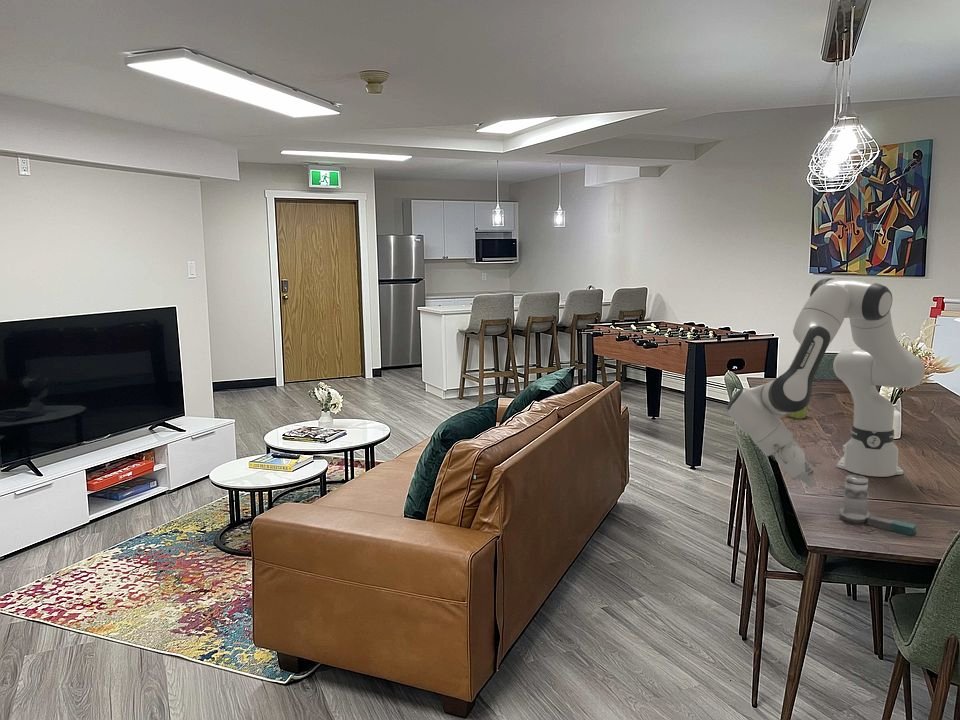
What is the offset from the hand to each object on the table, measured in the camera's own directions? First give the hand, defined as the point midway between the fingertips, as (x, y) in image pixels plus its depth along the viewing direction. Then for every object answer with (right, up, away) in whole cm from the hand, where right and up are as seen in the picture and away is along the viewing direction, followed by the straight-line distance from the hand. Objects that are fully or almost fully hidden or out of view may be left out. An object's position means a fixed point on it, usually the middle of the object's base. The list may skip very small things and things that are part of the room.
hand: (812, 480), depth 191 cm
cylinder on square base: (+10, -8, -3) cm, 13 cm away
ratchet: (+13, -11, -6) cm, 18 cm away
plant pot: (+46, +8, +112) cm, 121 cm away
